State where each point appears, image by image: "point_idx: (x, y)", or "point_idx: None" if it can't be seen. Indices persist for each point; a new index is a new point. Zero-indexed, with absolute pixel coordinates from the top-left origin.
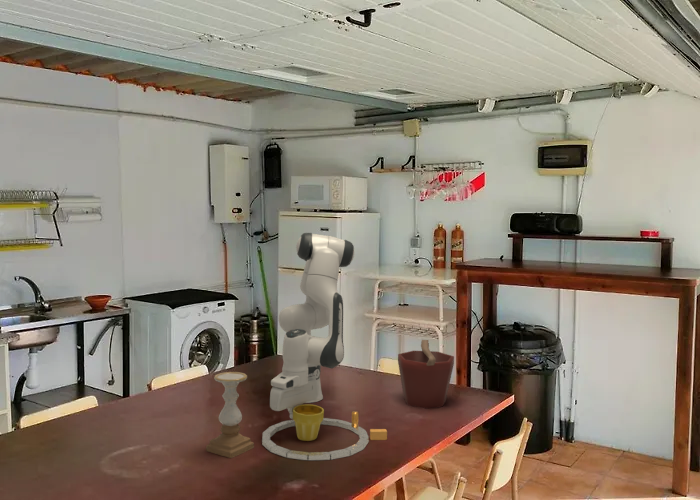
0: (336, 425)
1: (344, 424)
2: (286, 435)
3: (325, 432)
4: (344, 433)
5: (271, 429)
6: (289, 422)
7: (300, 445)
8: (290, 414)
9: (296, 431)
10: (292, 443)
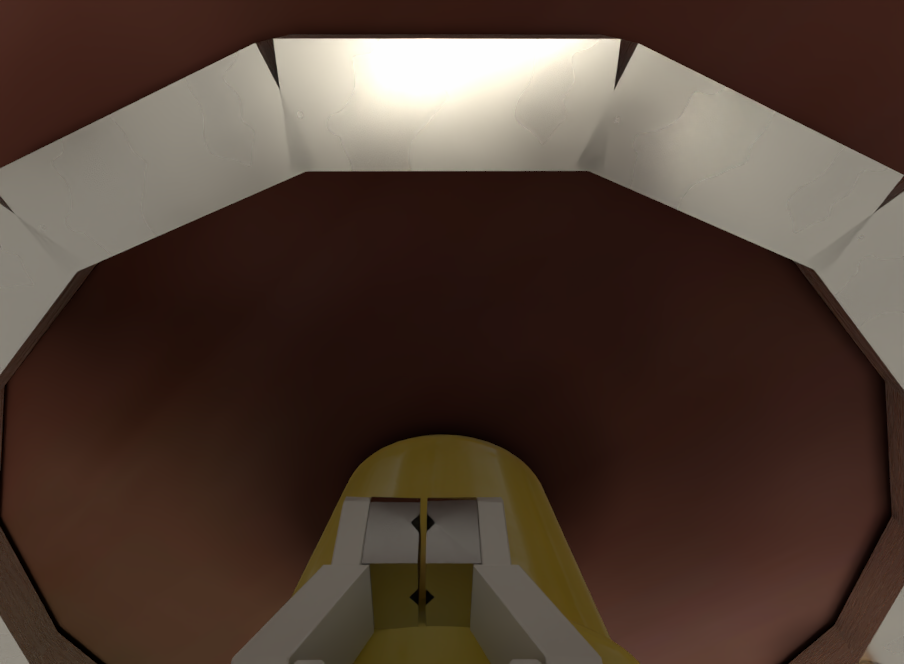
0: (895, 518)
1: (880, 616)
2: (338, 324)
3: (674, 528)
4: (736, 626)
5: (177, 179)
6: (615, 162)
7: (261, 563)
8: (336, 559)
9: (336, 513)
10: (233, 498)
